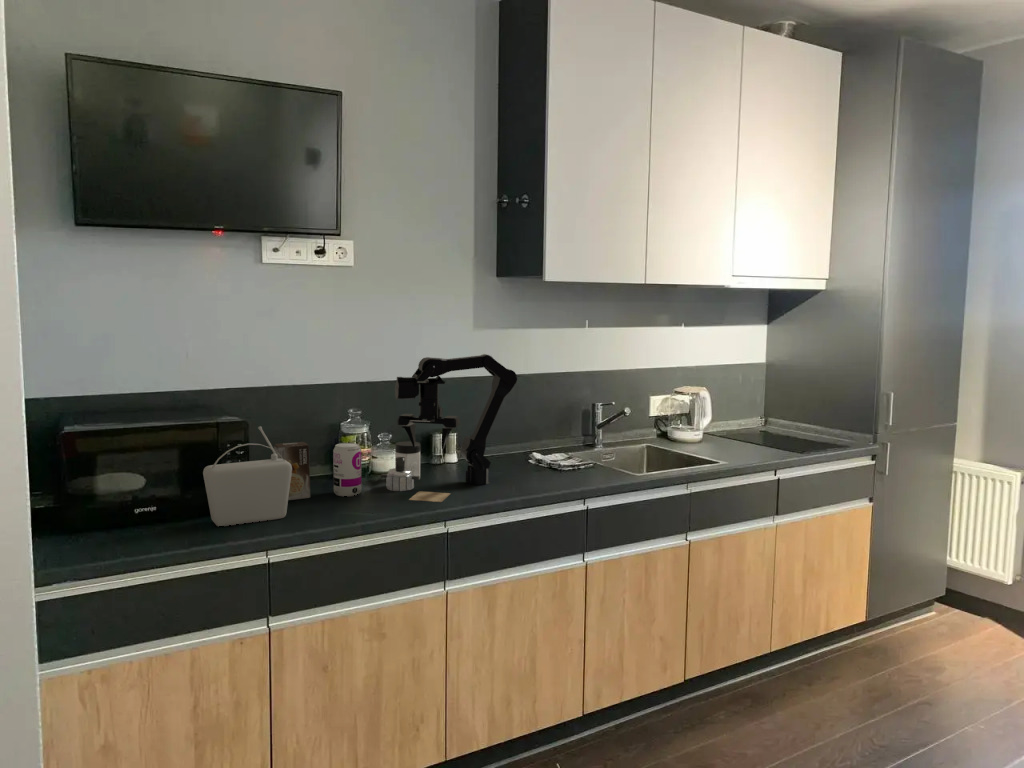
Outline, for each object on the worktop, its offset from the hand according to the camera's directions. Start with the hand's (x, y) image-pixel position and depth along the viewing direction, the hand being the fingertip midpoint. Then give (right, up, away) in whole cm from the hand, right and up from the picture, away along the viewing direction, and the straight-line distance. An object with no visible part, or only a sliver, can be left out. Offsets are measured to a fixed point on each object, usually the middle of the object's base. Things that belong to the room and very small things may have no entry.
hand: (428, 447), depth 246 cm
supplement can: (-24, -14, -6) cm, 28 cm away
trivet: (+2, -14, -11) cm, 18 cm away
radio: (-45, -17, -35) cm, 59 cm away
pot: (-9, -13, -1) cm, 16 cm away
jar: (-8, -12, +13) cm, 19 cm away
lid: (-9, -8, -2) cm, 12 cm away
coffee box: (-39, -14, -12) cm, 43 cm away
